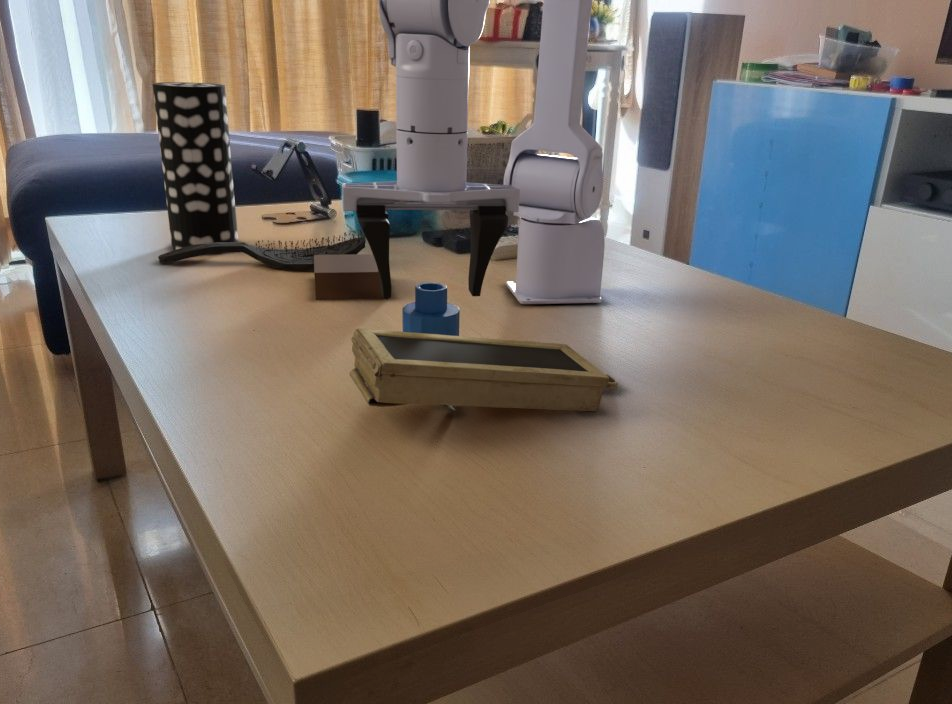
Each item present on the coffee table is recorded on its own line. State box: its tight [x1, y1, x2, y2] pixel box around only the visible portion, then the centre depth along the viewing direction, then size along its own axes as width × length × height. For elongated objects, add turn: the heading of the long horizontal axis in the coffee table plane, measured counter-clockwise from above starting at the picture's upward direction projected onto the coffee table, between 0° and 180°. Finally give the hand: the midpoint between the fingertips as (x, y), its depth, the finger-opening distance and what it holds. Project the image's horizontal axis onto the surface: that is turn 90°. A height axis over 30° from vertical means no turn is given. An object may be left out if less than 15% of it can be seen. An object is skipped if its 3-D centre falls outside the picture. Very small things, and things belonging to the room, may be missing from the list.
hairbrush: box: [158, 228, 367, 272], centre depth 103 cm, size 8×4×25 cm
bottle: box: [401, 281, 461, 336], centre depth 74 cm, size 5×5×7 cm
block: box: [313, 253, 384, 301], centre depth 95 cm, size 8×8×3 cm
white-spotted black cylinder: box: [152, 81, 239, 255], centre depth 106 cm, size 8×8×20 cm
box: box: [349, 327, 619, 412], centre depth 66 cm, size 8×22×5 cm, turn 114°
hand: (430, 294), depth 72 cm, fingers open, 7 cm apart
